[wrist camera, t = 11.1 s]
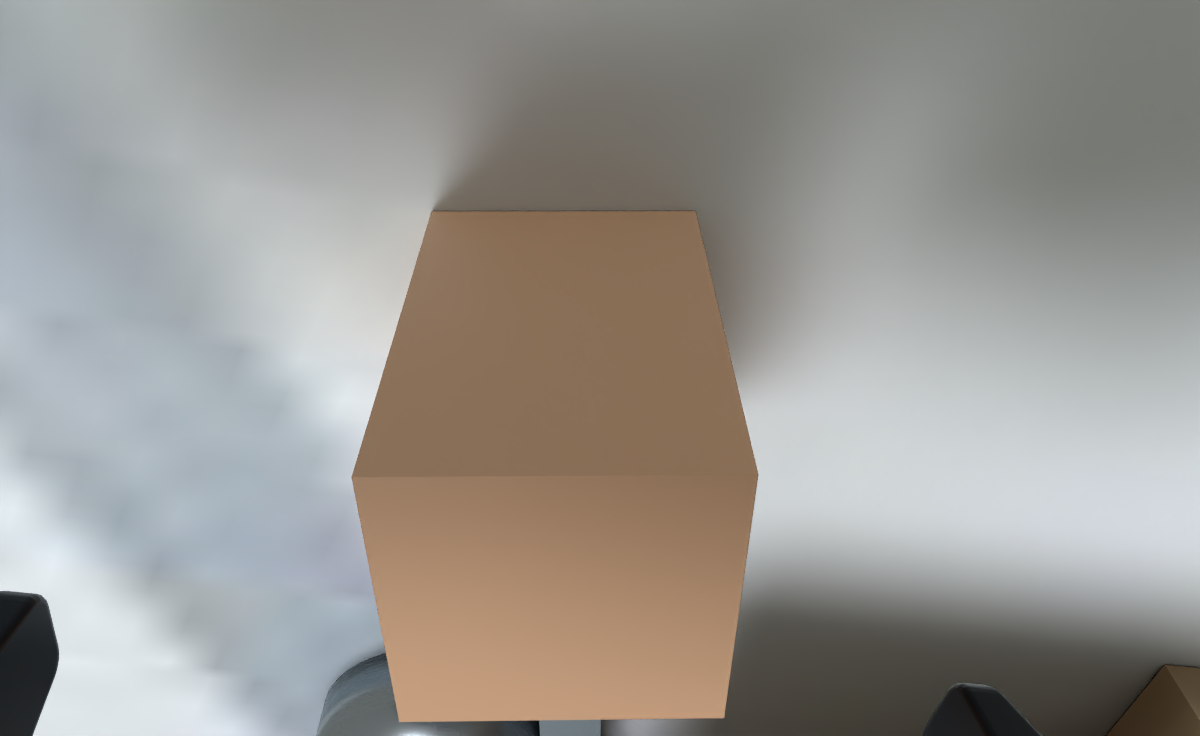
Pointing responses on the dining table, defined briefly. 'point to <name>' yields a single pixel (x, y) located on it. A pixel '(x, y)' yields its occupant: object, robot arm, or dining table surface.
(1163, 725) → the shelf
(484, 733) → the disc
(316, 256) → the dining table surface
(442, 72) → the dining table surface
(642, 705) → the toy hammer
